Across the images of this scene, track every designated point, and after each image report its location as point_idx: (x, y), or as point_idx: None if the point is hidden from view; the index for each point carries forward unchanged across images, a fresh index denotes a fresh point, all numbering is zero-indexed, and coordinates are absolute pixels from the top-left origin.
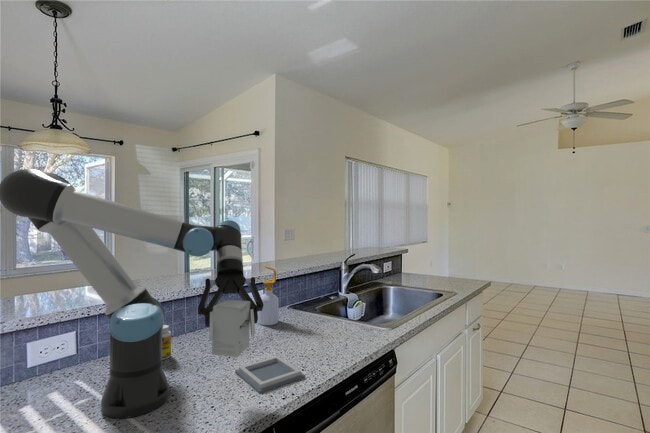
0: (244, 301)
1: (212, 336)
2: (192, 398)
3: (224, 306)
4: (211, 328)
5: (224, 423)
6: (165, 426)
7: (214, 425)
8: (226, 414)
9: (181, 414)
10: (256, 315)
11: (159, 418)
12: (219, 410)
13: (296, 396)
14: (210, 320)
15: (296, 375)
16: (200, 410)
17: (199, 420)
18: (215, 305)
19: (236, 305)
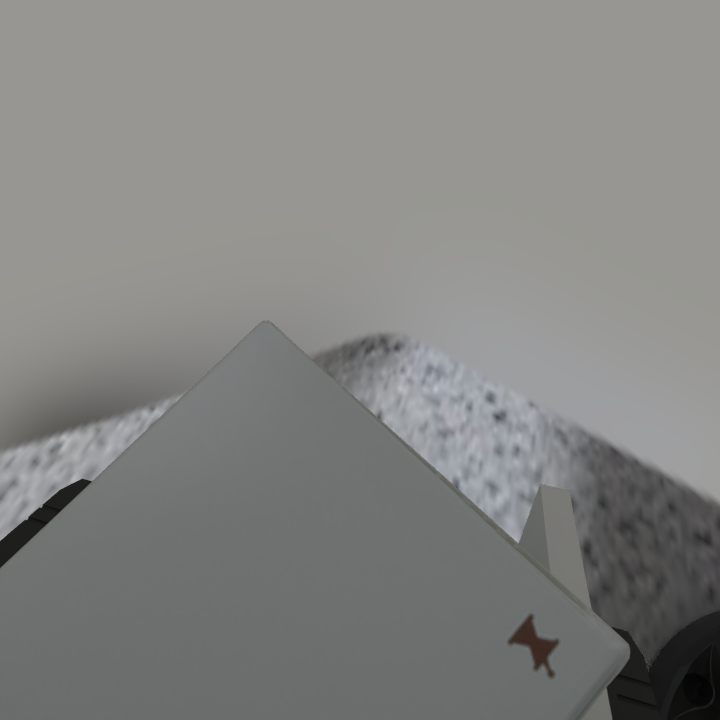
0: (9, 669)
1: (536, 503)
2: None
3: (451, 487)
4: (560, 539)
5: (446, 379)
6: (644, 469)
7: (479, 385)
8: (425, 428)
9: (583, 520)
10: (37, 523)
11: (669, 539)
12: (441, 468)
13: (154, 406)
14: None
15: None
16: (509, 509)
17: (523, 441)
18: (591, 662)
19: (254, 447)
